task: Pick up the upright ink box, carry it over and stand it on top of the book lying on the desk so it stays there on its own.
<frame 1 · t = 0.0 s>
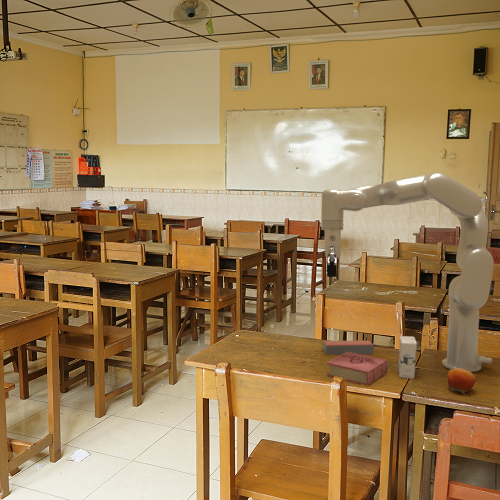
hand: (331, 274, 188), 31 cm above the table, tool pointing down, fingers open, 9 cm apart
pencil case: (347, 351, 202), on the table
fruit: (460, 391, 164), on the table
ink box: (406, 374, 178), on the table
book: (357, 376, 177), on the table
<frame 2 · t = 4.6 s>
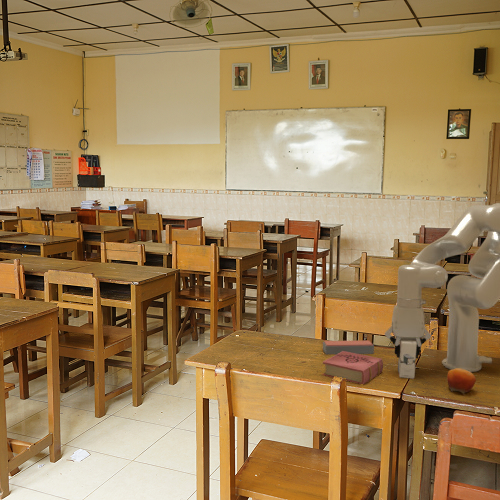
hand: (407, 356, 177), 6 cm above the table, tool pointing down, fingers closed on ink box, 5 cm apart
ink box: (406, 374, 178), on the table, touching gripper
book: (353, 375, 178), on the table
everything else where it was.
when the fingers open (12 cm above the table, at t = 10.3 s): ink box drops 1 cm, resting on book.
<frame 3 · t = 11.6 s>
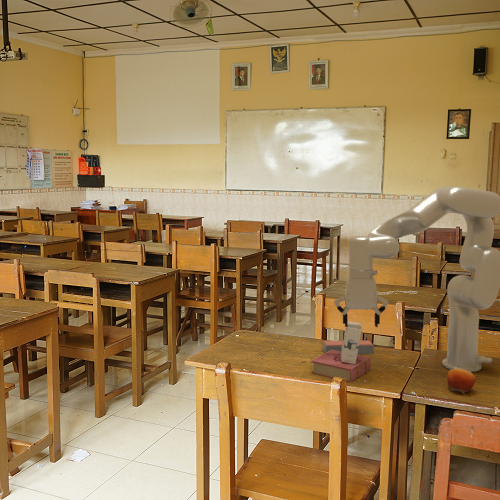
hand: (361, 325, 175), 16 cm above the table, tool pointing down, fingers open, 9 cm apart
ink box: (348, 359, 179), point 4 cm above the table, touching book, gripper
book: (341, 374, 180), on the table, touching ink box
everything else where it was.
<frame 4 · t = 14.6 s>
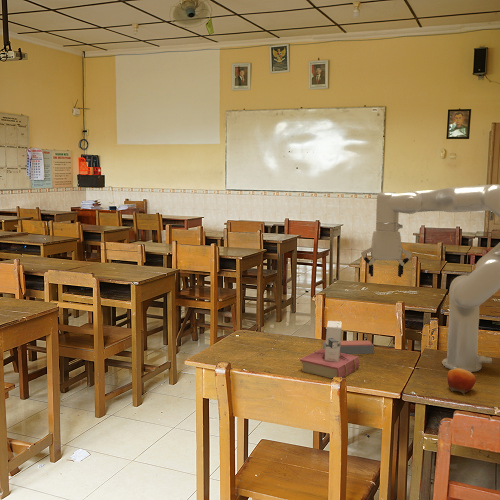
hand: (385, 276, 189), 30 cm above the table, tool pointing down, fingers open, 9 cm apart
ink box: (332, 358, 182), point 4 cm above the table, touching book
book: (330, 372, 182), on the table, touching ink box
everything else where it was.
at the end: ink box 0.9 cm from the book (horizontally); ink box touching nothing; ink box tilted 1° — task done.
